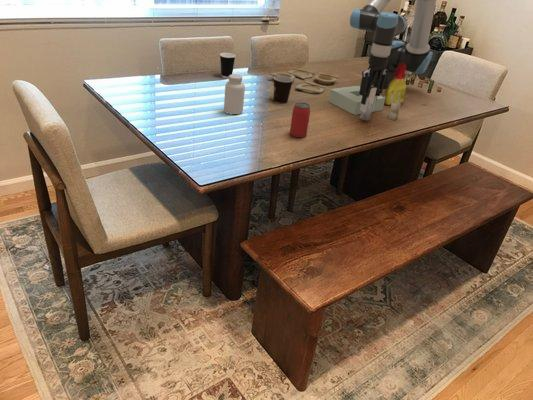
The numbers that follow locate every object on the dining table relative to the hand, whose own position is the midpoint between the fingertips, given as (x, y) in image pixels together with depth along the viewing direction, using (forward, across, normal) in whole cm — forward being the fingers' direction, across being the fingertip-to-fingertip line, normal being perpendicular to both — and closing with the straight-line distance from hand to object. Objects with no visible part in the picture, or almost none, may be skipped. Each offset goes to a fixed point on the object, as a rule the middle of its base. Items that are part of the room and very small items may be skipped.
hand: (366, 110), depth 186 cm
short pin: (+5, -16, +2) cm, 17 cm away
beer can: (+5, +37, +1) cm, 38 cm away
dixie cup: (+5, +28, -71) cm, 77 cm away
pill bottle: (+5, +49, -28) cm, 57 cm away
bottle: (+5, -31, -12) cm, 33 cm away
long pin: (+4, 0, 0) cm, 4 cm away
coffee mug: (+5, +20, -34) cm, 40 cm away
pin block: (+5, -10, -16) cm, 19 cm away
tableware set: (+6, -9, -53) cm, 54 cm away
